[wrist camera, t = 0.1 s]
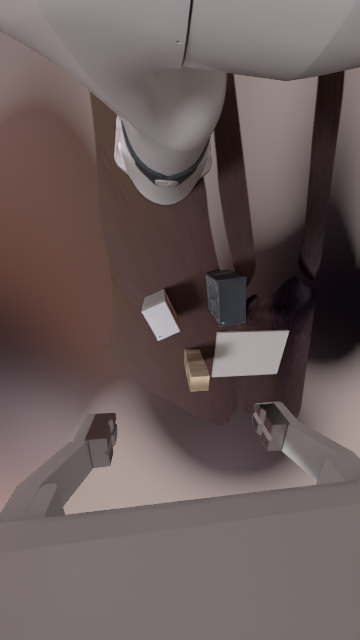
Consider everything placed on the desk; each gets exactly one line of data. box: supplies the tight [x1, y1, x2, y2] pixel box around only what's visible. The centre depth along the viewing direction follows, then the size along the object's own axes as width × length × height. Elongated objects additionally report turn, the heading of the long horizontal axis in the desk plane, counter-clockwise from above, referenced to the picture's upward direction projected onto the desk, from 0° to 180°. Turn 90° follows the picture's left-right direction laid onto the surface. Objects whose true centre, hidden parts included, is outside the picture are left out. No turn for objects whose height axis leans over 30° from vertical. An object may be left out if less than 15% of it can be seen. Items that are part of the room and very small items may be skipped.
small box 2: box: [205, 270, 246, 327], centre depth 44 cm, size 11×6×10 cm, turn 7°
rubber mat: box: [212, 330, 289, 377], centre depth 58 cm, size 16×22×1 cm
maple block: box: [184, 349, 210, 391], centre depth 51 cm, size 4×4×12 cm
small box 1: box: [141, 289, 180, 341], centre depth 44 cm, size 8×6×10 cm
